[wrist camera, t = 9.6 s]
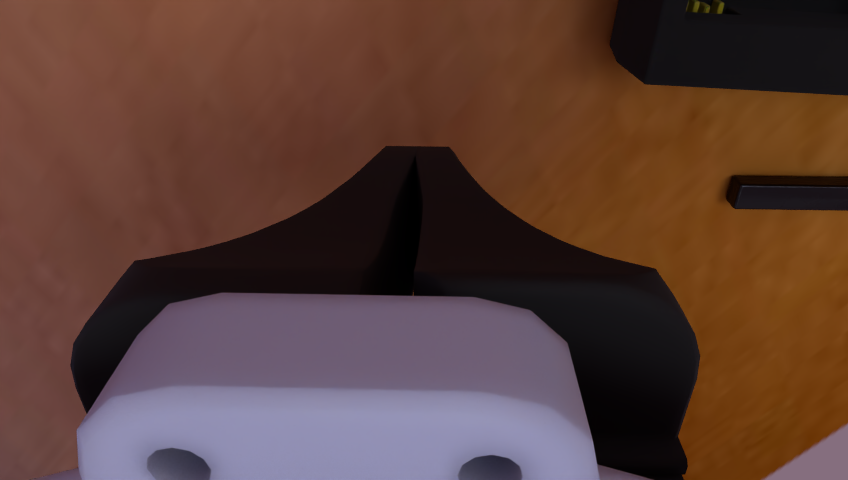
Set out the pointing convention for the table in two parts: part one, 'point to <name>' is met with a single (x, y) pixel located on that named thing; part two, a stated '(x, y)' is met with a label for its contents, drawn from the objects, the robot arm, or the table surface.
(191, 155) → the table surface
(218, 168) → the table surface
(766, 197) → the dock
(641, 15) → the battery charger
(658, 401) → the robot arm
